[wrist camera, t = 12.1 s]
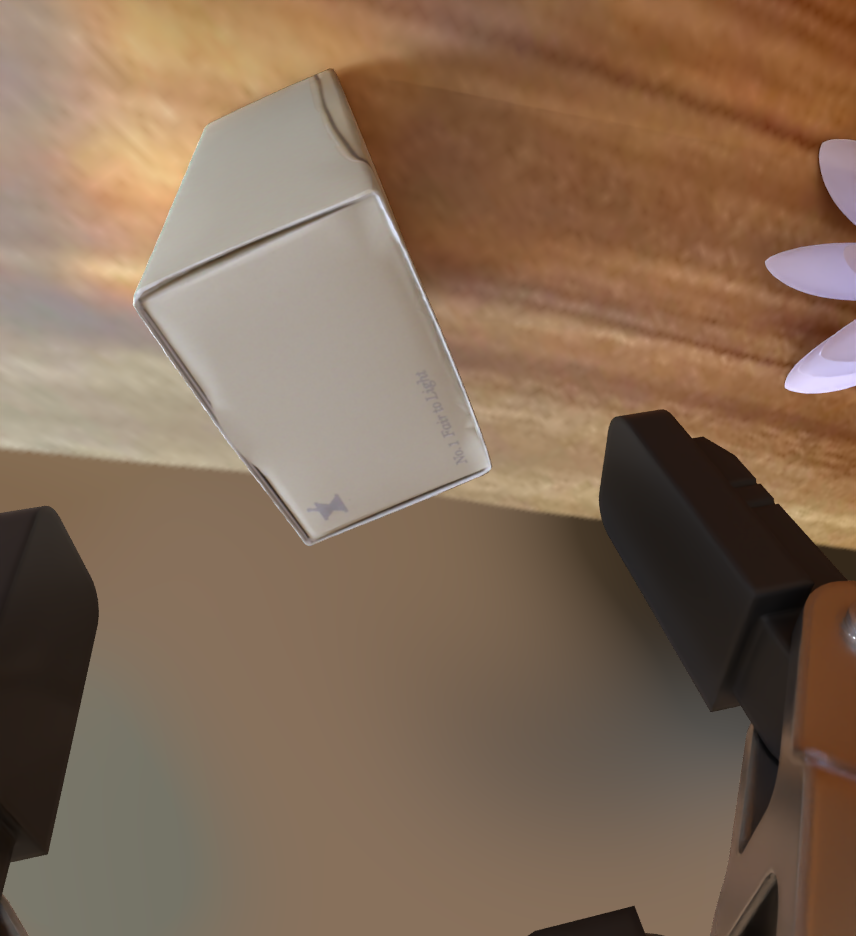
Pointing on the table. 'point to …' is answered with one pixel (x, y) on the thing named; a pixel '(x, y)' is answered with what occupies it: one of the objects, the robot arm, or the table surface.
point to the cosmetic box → (308, 317)
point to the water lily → (826, 279)
